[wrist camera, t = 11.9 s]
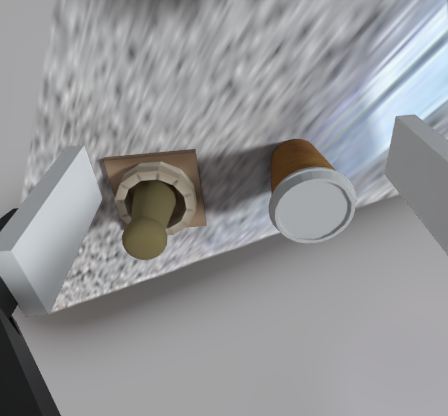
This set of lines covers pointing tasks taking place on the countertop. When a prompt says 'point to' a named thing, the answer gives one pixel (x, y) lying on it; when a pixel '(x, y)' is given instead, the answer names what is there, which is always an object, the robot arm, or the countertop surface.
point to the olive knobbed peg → (149, 219)
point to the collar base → (169, 158)
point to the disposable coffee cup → (308, 194)
